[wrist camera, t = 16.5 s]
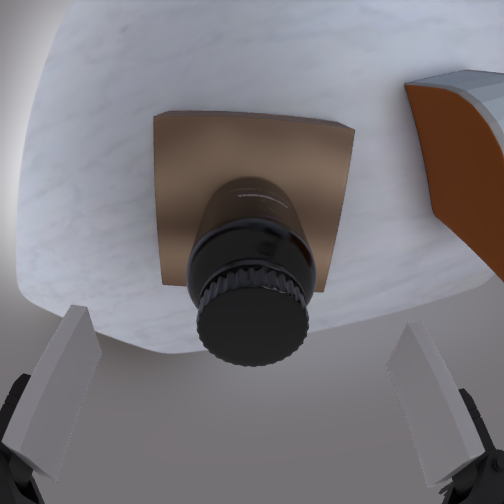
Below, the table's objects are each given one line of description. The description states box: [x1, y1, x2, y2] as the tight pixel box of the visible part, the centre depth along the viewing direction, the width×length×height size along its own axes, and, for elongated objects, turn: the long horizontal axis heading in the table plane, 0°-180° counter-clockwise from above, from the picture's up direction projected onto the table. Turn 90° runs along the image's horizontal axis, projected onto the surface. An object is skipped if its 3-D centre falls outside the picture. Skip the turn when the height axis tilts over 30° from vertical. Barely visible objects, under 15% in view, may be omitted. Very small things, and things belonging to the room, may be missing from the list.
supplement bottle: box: [186, 178, 317, 367], centre depth 18 cm, size 7×7×12 cm
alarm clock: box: [405, 70, 504, 282], centre depth 19 cm, size 15×8×14 cm, turn 23°
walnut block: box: [154, 111, 355, 292], centre depth 25 cm, size 14×14×5 cm
